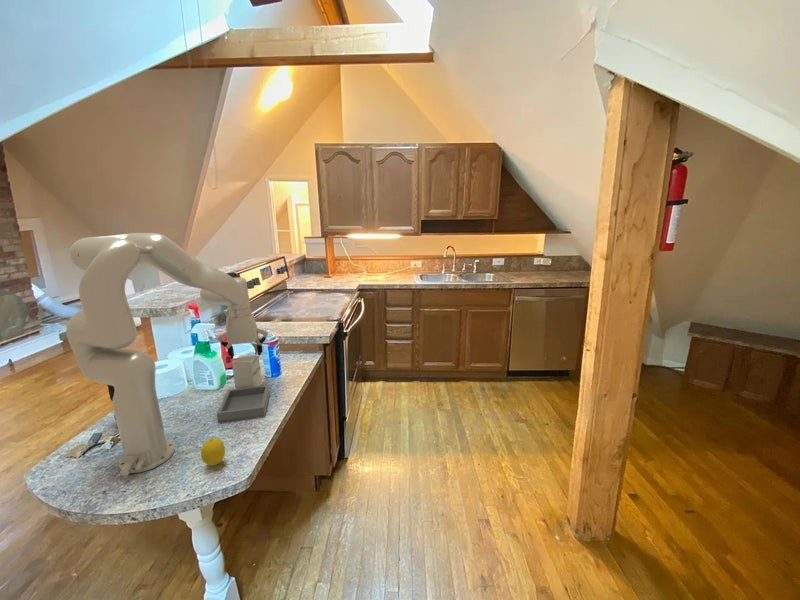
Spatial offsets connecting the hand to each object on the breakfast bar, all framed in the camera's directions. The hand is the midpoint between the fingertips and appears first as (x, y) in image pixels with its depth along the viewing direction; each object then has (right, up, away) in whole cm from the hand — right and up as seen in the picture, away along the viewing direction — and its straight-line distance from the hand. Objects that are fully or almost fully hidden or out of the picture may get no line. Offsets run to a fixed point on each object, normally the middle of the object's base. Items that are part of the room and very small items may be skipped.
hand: (246, 355), depth 134 cm
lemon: (+8, -23, -38) cm, 46 cm away
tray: (+4, -16, -10) cm, 20 cm away
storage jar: (-29, -19, -17) cm, 38 cm away
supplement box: (0, -13, +3) cm, 14 cm away
